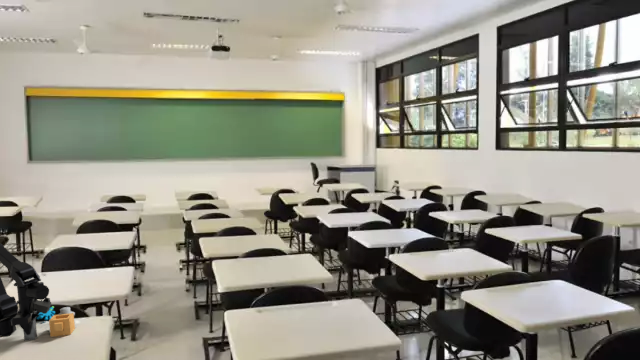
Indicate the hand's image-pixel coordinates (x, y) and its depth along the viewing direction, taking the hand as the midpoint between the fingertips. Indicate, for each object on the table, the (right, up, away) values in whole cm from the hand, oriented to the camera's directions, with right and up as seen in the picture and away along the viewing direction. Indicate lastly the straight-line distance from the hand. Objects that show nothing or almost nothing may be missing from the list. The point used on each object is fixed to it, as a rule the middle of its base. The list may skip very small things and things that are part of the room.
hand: (30, 332), depth 204 cm
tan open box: (+10, -1, +7) cm, 13 cm away
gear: (-5, -1, +22) cm, 22 cm away
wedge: (0, -3, 0) cm, 2 cm away
